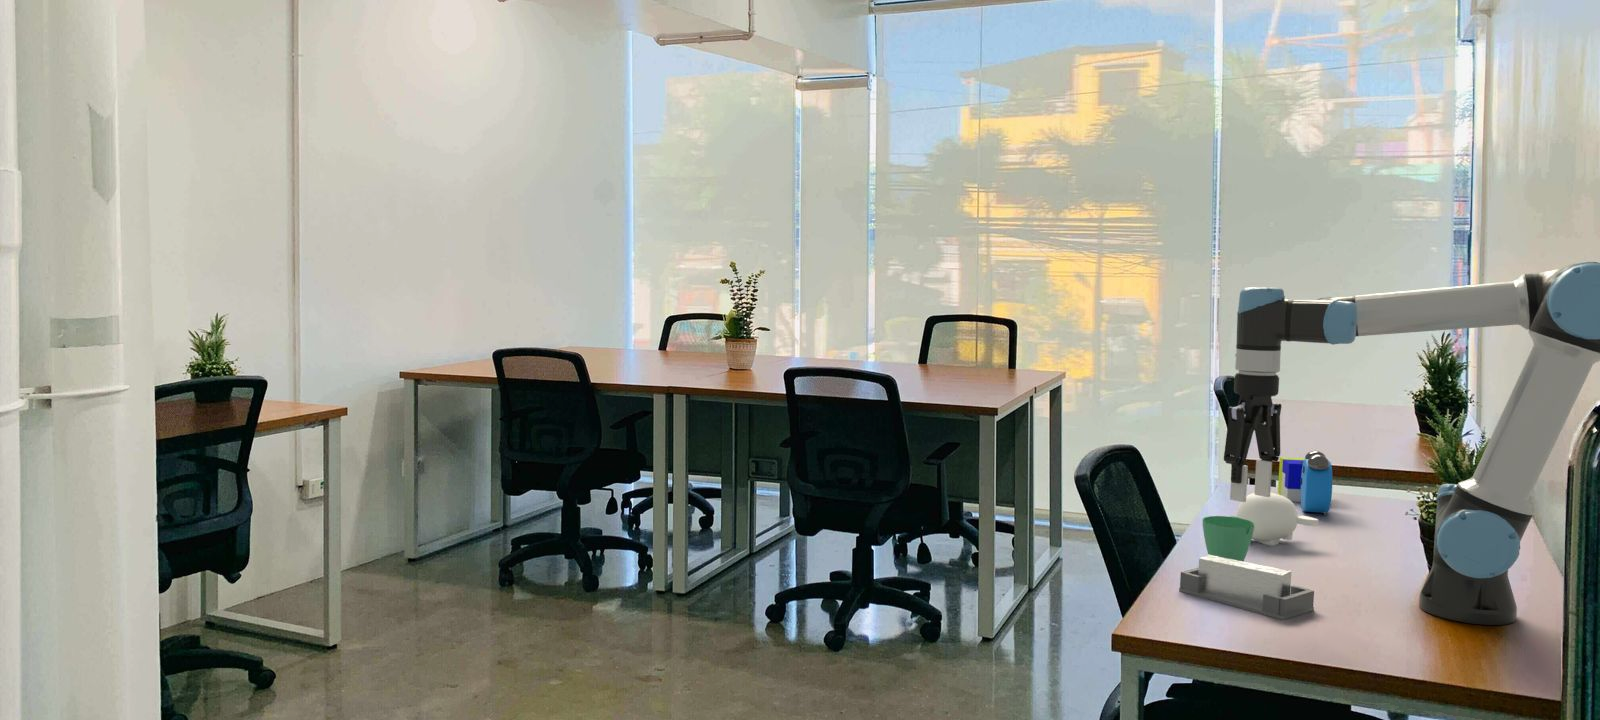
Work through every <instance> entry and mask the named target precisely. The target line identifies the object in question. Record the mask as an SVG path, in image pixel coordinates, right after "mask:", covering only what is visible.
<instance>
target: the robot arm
mask: <svg viewBox="0 0 1600 720" xmlns="http://www.w3.org/2000/svg"><path fill="white" fill-rule="evenodd" d="M1237 308H1238V309H1237V312H1236V315H1237V317H1236V323H1237V324H1236V346H1235V347H1236V351H1235V352H1236V353H1235V355H1234V356H1235V365H1234V366H1235V367H1234V368H1235V370H1236V371H1237V372H1236V373H1235V374H1234V379H1233V381H1234V383H1233V391H1234V393H1235V394H1236V395H1238V396H1239V400H1238V404H1237V406H1229V407H1228V409H1227V416H1228V420H1227V429H1226V436H1225V443H1224V444H1225V446H1224V453H1223V461H1224V462H1225V464H1227V465H1228V464H1230V465H1231V466H1230V467H1231V468H1230V469H1231V470H1230V489H1229V490H1230V491H1229V493H1230V495H1229V496H1230V497H1229V500H1230V501H1231V500H1232V501H1236V502H1239V503H1241V502H1246V496H1247V490H1248V488H1247V486H1248V472H1249V471H1248V470H1249V468H1248V467H1249V466H1248V465H1245V464H1246V460H1247V457H1248V452H1249V449H1250V446H1251V443H1252V439H1253V434H1254V433H1255V439H1256V445H1257V451H1258V457H1259V459H1256V461H1255V477H1254V478H1255V479H1254V492H1253V493H1254V495H1259V496H1264V497H1270V493H1271V492H1272V491H1271V490H1272V488H1271V486H1272V470H1273V462H1277V463H1278V461H1280V457H1281V456H1280V455H1281V413H1282V412H1281V411H1282V404H1281V403H1276V402H1273V399H1272V397H1276V396H1277V395H1279V388H1280V376H1279V374H1277V373H1279V372H1280V371H1281V352H1282V351H1281V349H1282V345H1281V344H1282V342H1298V343H1315V344H1330V345H1340V344H1341V345H1344V344H1345V345H1350V344H1352V343H1353V342H1354V341H1355V340H1356V337H1367V336H1380V335H1395V334H1407V333H1408V334H1409V333H1422V332H1435V331H1451V330H1460V329H1462V330H1463V329H1475V328H1476V329H1477V328H1489V327H1502V326H1516V325H1517V326H1521V327H1522V328H1523V329H1524V330H1526V331H1527V330H1528V331H1527V332H1528V334H1529V337H1530V338H1531V340H1532V341H1533V346H1532V348H1531V351H1530V352H1529V354H1528V356H1527V359H1526V361H1525V363H1524V366H1523V367H1522V370H1521V372H1520V375H1519V376H1518V378H1517V380H1516V382H1515V385H1514V387H1513V389H1512V391H1511V393H1510V396H1509V397H1508V400H1507V402H1506V405H1505V406H1504V408H1503V411H1502V412H1501V414H1500V417H1499V419H1498V421H1497V423H1496V426H1495V428H1494V430H1493V432H1492V434H1491V436H1490V439H1489V440H1488V443H1487V445H1486V447H1485V449H1484V452H1483V454H1482V456H1481V458H1480V460H1479V462H1478V463H1477V466H1476V469H1475V470H1474V473H1473V475H1472V476H1471V477H1470V478H1469V479H1466V480H1462V481H1460V482H1458V483H1457V484H1456V483H1442V484H1441V485H1440V486H1439V487H1438V491H1437V496H1436V497H1435V501H1436V514H1435V527H1434V529H1435V530H1434V544H1433V545H1434V546H1433V560H1432V566H1431V569H1430V571H1429V573H1428V575H1427V578H1426V580H1425V582H1424V584H1423V586H1422V588H1421V590H1420V593H1419V602H1418V606H1419V608H1420V609H1421V610H1422V611H1424V612H1426V613H1427V614H1430V615H1433V616H1436V617H1439V618H1443V619H1447V620H1450V621H1454V622H1455V621H1456V622H1459V623H1460V622H1461V623H1465V624H1466V623H1467V624H1472V625H1473V624H1474V625H1486V626H1500V625H1502V626H1503V625H1508V624H1509V625H1510V624H1513V623H1515V622H1516V621H1517V612H1518V607H1517V603H1516V599H1515V596H1514V593H1513V588H1512V586H1511V583H1510V579H1509V578H1510V577H1509V569H1511V568H1512V566H1514V564H1515V563H1516V561H1517V560H1518V559H1519V556H1520V551H1521V541H1522V539H1523V536H1524V535H1525V532H1526V530H1527V528H1528V527H1529V523H1530V522H1531V519H1532V518H1533V516H1534V514H1535V511H1534V509H1533V508H1532V505H1531V503H1530V501H1529V498H1530V497H1531V495H1532V492H1533V491H1534V488H1535V486H1536V484H1537V482H1538V480H1539V478H1540V475H1541V474H1542V472H1543V470H1544V468H1545V465H1546V463H1547V461H1548V459H1549V457H1550V455H1551V453H1552V452H1553V448H1554V447H1555V444H1556V442H1557V441H1558V438H1559V436H1560V434H1561V432H1562V430H1563V428H1564V425H1565V423H1566V422H1567V419H1568V417H1569V415H1570V413H1571V412H1572V409H1573V407H1574V404H1575V403H1576V401H1577V398H1578V396H1579V395H1580V392H1581V390H1582V388H1583V387H1584V384H1585V383H1586V382H1585V381H1586V380H1587V378H1588V376H1589V374H1590V371H1591V370H1592V367H1593V366H1594V365H1595V364H1596V363H1599V362H1600V262H1597V261H1586V262H1580V263H1572V264H1569V265H1566V266H1562V267H1559V268H1555V269H1550V270H1547V271H1539V272H1535V273H1523V274H1520V276H1519V277H1517V278H1516V279H1515V280H1511V281H1510V280H1509V281H1501V282H1500V281H1499V282H1490V283H1489V282H1488V283H1480V284H1479V283H1478V284H1477V283H1476V284H1468V285H1457V286H1445V287H1435V288H1425V289H1424V288H1423V289H1414V290H1413V289H1412V290H1403V291H1392V292H1382V293H1381V292H1380V293H1370V294H1361V295H1360V294H1359V295H1353V296H1349V295H1348V296H1347V295H1346V296H1338V297H1330V296H1329V297H1328V296H1327V297H1322V298H1321V297H1320V298H1317V299H1290V298H1286V296H1285V292H1284V289H1283V288H1280V287H1264V286H1263V287H1262V286H1261V287H1260V286H1254V287H1253V286H1250V287H1249V286H1248V287H1244V288H1242V290H1241V291H1240V292H1239V298H1238V307H1237Z"/></svg>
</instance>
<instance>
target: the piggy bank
mask: <svg viewBox="0 0 1600 720" xmlns="http://www.w3.org/2000/svg"><path fill="white" fill-rule="evenodd" d="M1254 493H1255V492H1252V493H1250V494H1248V495H1247V494H1246V502H1239V504H1238V507H1237V512H1236V516H1237V517H1239V518H1242V519H1246V520H1249V521H1251V522H1253V523H1254V531H1253V535H1252V539H1251V540H1254V541H1256V542H1258V543H1260V544H1263V545H1267V546H1276V545H1278V544H1280V540H1281V539H1283V540H1287V541H1291V540H1293V533H1294V531H1295V530H1296V528H1297V525H1298V524H1299V525H1303V526H1310V527H1311V526H1312V527H1316V526H1319V519H1318V518H1315V517H1311V516H1308V515H1307V516H1306V515H1299V514H1298V510H1297V507H1296V505H1295V504H1294V503H1293V501H1290V500H1289V499H1288V498H1286V497H1284V496H1281V495H1279V494H1278V493H1274V492H1270V497H1264V496H1259V495H1254Z"/></svg>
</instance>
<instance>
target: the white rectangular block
mask: <svg viewBox="0 0 1600 720" xmlns="http://www.w3.org/2000/svg"><path fill="white" fill-rule="evenodd" d="M1198 568H1199V571H1198V575H1199V576H1202V581H1201V591H1205V592H1210V593H1214V594H1219V595H1223V596H1228V597H1232V598H1237V599H1241V600H1245V601H1250V602H1254V603H1259V604H1263V594H1266V593H1267V594H1271V595H1275V596H1279V597H1286V596H1289V595H1290V593H1291V586H1292V585H1291V584H1292V571H1291V570H1287V569H1281V568H1277V567H1272V566H1267V565H1261V564H1257V563H1252V562H1247V561H1244V562H1243V561H1238V560H1233V559H1228V558H1223V557H1218V556H1213V555H1208V554H1207V555H1204V556H1202V557H1199V559H1198Z"/></svg>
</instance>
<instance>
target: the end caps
mask: <svg viewBox="0 0 1600 720" xmlns="http://www.w3.org/2000/svg"><path fill="white" fill-rule="evenodd" d="M1198 571H1199V567H1195V568H1192V569H1187V570H1183V571H1180V575H1179V576H1180V578H1179V581H1180V582H1179V588H1178V591H1179V592H1181V593H1185V594H1188V595H1193V596H1195V597H1199V598H1202V599H1207V600H1211V601H1213V602H1217V603H1221V604H1224V605H1228V606H1232V607H1236V608H1239V609H1243V610H1246V611H1249V612H1252V613H1257V614H1261V615H1263V616H1264V615H1265V616H1267V617H1270V618H1275V619H1277V620H1278V619H1279V620H1282V621H1284V620H1288V619H1292V618H1295V617H1297V616H1300V615H1304V614H1306V613H1310V612H1312V611H1314V610H1315V607H1314V600H1315V590H1312V589H1309V588H1306V587H1302V586H1299V585H1294V584H1293V585H1291V588H1290V595H1289V596H1286V597H1279V596H1275V595H1271V594H1267V593H1266V594H1263V604H1259V603H1254V602H1250V601H1245V600H1241V599H1237V598H1232V597H1228V596H1223V595H1219V594H1214V593H1210V592H1205V591H1201V581H1202V576H1199V575H1198Z"/></svg>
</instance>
